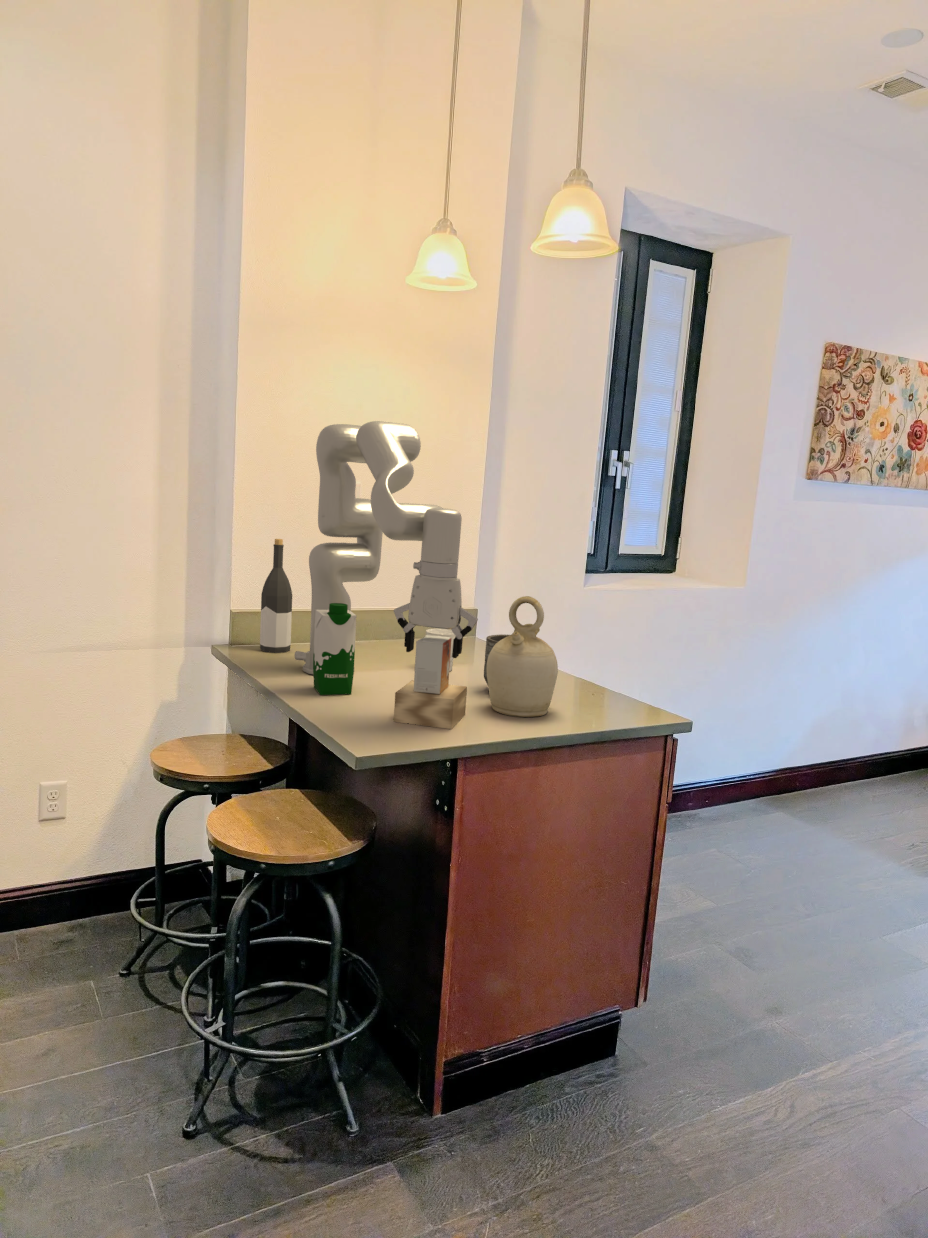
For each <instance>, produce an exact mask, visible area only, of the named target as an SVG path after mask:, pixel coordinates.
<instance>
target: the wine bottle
mask: <svg viewBox="0 0 928 1238" xmlns="http://www.w3.org/2000/svg"><path fill="white" fill-rule="evenodd" d="M272 562H273V563H272V569H271V570H270V572H269V574H268V576H267V577H266V579H265V581H264V584H263V587H262V591H261V601H260V602H261V603H260V628H259V629H260V630H259V631H260V633H259V650H260V651H262V652H265V653H271V654H281V653H282V654H283V653H287V652H290V651H291V643H292V638H291V637H292V615H293V614H292V613H293V612H292V611H293V590H292V587H291V582H290V580H289V578H288V576H287V574H286V572H285V570H284V568H283V565H284V563H283V562H284V539H283V538H274V543H273V561H272Z"/></svg>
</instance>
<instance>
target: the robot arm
mask: <svg viewBox="0 0 928 1238" xmlns="http://www.w3.org/2000/svg"><path fill="white" fill-rule="evenodd" d="M421 445H422V441H421V437H420V435H419V433H418V431H417V430H416V429H415V428H414V427H413V426H412V425H411V424H407V423H401V422H400V423H398V422H391V421H390V422H389V421H382V420H381V421H380V420H375V421H374V420H373V421H369V422H366V423H364V424H362V425H355V424H346V423H345V424H344V423H336V424H335V423H334V424H330V425H327V426H325V427H324V428H322V429H321V431H319V434H318V437H317V440H316V445H315V452H316V453H315V454H316V461H317V462H316V463H317V466H318V471H319V487H318V488H319V489H318V490H319V492H318V506H317V508H318V509H317V525H318V529H319V531H320V533H321V534H322V535H323V536H326V537H330V538H356V542H323V543H320V544H317V545H315V546H313V548H312V549H311V551H310V553H309V555H308V566H309V574H310V583H311V606H310V607H311V608H310V609H311V610H310V611H311V612H310V635H309V636H310V637H309V650H308V651H306V652H304V651H301V650H296V651H295V652H294V659H295V661H303V662H304V664H303V665H302V671H303V672H304V673H306V674H309V675H313V654H314V631H315V627H314V626H315V613H316V610H329V604H331V603H343V604H347V605H348V610H349V611H351V609H352V602H351V597H350V594H349V592H348V591H347V589H346V587H345V586H344V583H353V582H354V583H356V582H357V583H359V582H362V583H363V582H370V581H373V580H374V579H375V578H376V577H377V575H378V574H379V571H380V567H381V558H382V545H383V535H384V536H386V538H388V539H389V540H393V541H402V542H403V541H404V542H405V541H407V542H408V541H413V542H415V541H416V542H421V552H420V560H419V561H416V562H413V565H412V567H413V569H414V570H417V571H418V574H417V575H415V577H414V580H413V584H412V589H411V595H410V600H409V602H408V603H406V604H403V605H401V606H399V607H396V608H394V609H393V613H394V615H395V617H396V621H397V622H396V623H398V625H399V626H400V627H401V629H402V630H403V632H404V644H403V645H404V648H405V651H406V653H410V652H412V651H414V649H415V634H416V632H415V630H414V628H415V627H416V626H418V627H423V628H424V627H426V628H430V629H448V630H452V632H453V633H454V634H455V639H454V640H453V652H452V657H453V658H454V659H457V658H458V657H459V655H460V654H462V652H463V651H462V650H463V642H464V637H465V636H467V635H468V634H469V633H470V632H471V631H472V630H473V628H474V627H475V626H476V624H477V622H478V620H479V619H478V617H477V616H476V615H474V614H472V613H471V612H469V611H468V610H466V609H465V608H463V607H462V605H463V604H462V603H463V602H462V585H461V579H460V578H459V577H458V572H459V571H458V570H459V557H460V546H461V545H460V544H461V531H462V522H463V521H462V520H463V519H462V514H461V512H460V510H459V511H458V510H456V509H451V508H444V507H441V506H440V505H437V504H424V503H410V502H404V503H403V502H402V503H401V502H397V500H396V499H395V497H394V496H393V494H395V493H397V492H399V491H401V490H402V489H404V488H406V486H408V485H409V484H410V483H411V481H412V479H413V477H414V474H415V473H414V472H415V469H414V466H413V463H412V462H414V461H415V460H416V459H417V458H418V456H420V452H421V447H422V446H421ZM349 463H358V464H366V466H367V467H368V469H369V471H370V472H371V474H372V477H373V478H374V481H375V482H374V484H373V486H372V488H371V491H370V499H369V498H356V489H357V488H356V486H357V479H356V476H355V474H354V472H353V470H352V468H351V466H350V465H349ZM407 611H408V621H407V619H406V618H405V617H404V612H407ZM462 618H464V619H465V620H466V621H467V625H466V626H465V627H464V628H462V626H461V625H460V624H461V622H462Z"/></svg>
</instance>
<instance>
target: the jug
mask: <svg viewBox="0 0 928 1238" xmlns="http://www.w3.org/2000/svg"><path fill="white" fill-rule="evenodd" d="M523 604H529V605H531V606H532V607H533V608H534V609H535V613H536V620H535V622H534V623H526V624H525V623H524V624H522V623H520V622H519V620H518V618H517V612H518V609H519V607H521V605H523ZM542 606H543V605H542V604H541V603H540V601H539V600H537V599H536V598H535V597H533V596H528V595H525V596H524V595H523V596H520V597H519V598H516V599H515V600H514V601H513V603H512V604H511V605H510V608H509V611H508V618H509V623H510V624H511V626H512V627H513V628H514V629H513V631H512V634H509V635H510V636H507V637H505V638H504V639H502V640H500V641H499V642H498V643H496V644H495V645H494V647H493V648H492V650H491V652H490V654H489V656H488V660H487V667H486V670H487V680H488V685H487V687H488V695H489V700H490V704H491V708H492V710H493V711H495V712H497V713H499V714H501V715H504V716H509V717H519V718H536V717H541V716H545V715H547V713H548V710H549V707H550V705H551V702H552V698H553V695H554V691H555V687H556V683H557V679H558V674H559V672H558V670H559V669H558V667H559V666H558V659H557V656H556V654H555V652H554V649H553V648H552V647H551V646H550V645H549V644H548V643H547V642H546V641H545V640H543V639H542V638H541V637H538V636H537V635H538V633H539V632H540V628H541V626H542V625H543V623H544V619H545V612H544V607H542Z"/></svg>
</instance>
